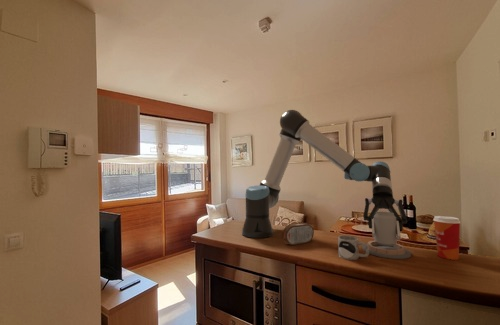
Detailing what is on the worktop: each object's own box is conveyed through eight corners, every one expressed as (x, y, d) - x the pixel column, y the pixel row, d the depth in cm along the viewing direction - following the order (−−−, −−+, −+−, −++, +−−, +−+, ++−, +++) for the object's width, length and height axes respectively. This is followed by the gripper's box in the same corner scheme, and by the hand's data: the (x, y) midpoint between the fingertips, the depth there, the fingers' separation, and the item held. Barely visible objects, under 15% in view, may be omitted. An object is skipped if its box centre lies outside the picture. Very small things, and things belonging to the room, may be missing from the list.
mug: (336, 257, 82) (336, 238, 83) (340, 252, 88) (340, 234, 88) (367, 263, 77) (367, 243, 77) (370, 257, 82) (370, 238, 83)
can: (390, 241, 92) (390, 211, 93) (401, 247, 85) (400, 214, 86) (371, 240, 93) (370, 210, 94) (379, 246, 86) (378, 213, 86)
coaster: (356, 251, 88) (356, 245, 88) (368, 242, 100) (368, 237, 100) (407, 262, 78) (407, 255, 78) (414, 250, 89) (413, 244, 90)
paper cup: (432, 252, 88) (431, 214, 89) (459, 255, 84) (457, 216, 85) (436, 258, 81) (434, 218, 82) (465, 262, 78) (463, 220, 78)
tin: (310, 240, 104) (310, 221, 104) (315, 242, 101) (314, 222, 101) (282, 244, 97) (281, 224, 98) (286, 246, 94) (286, 225, 95)
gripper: (409, 196, 99) (418, 245, 84) (356, 194, 108) (356, 238, 93) (411, 184, 95) (420, 234, 79) (356, 183, 104) (355, 228, 88)
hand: (385, 236), depth 86 cm, fingers closed on can, 7 cm apart
